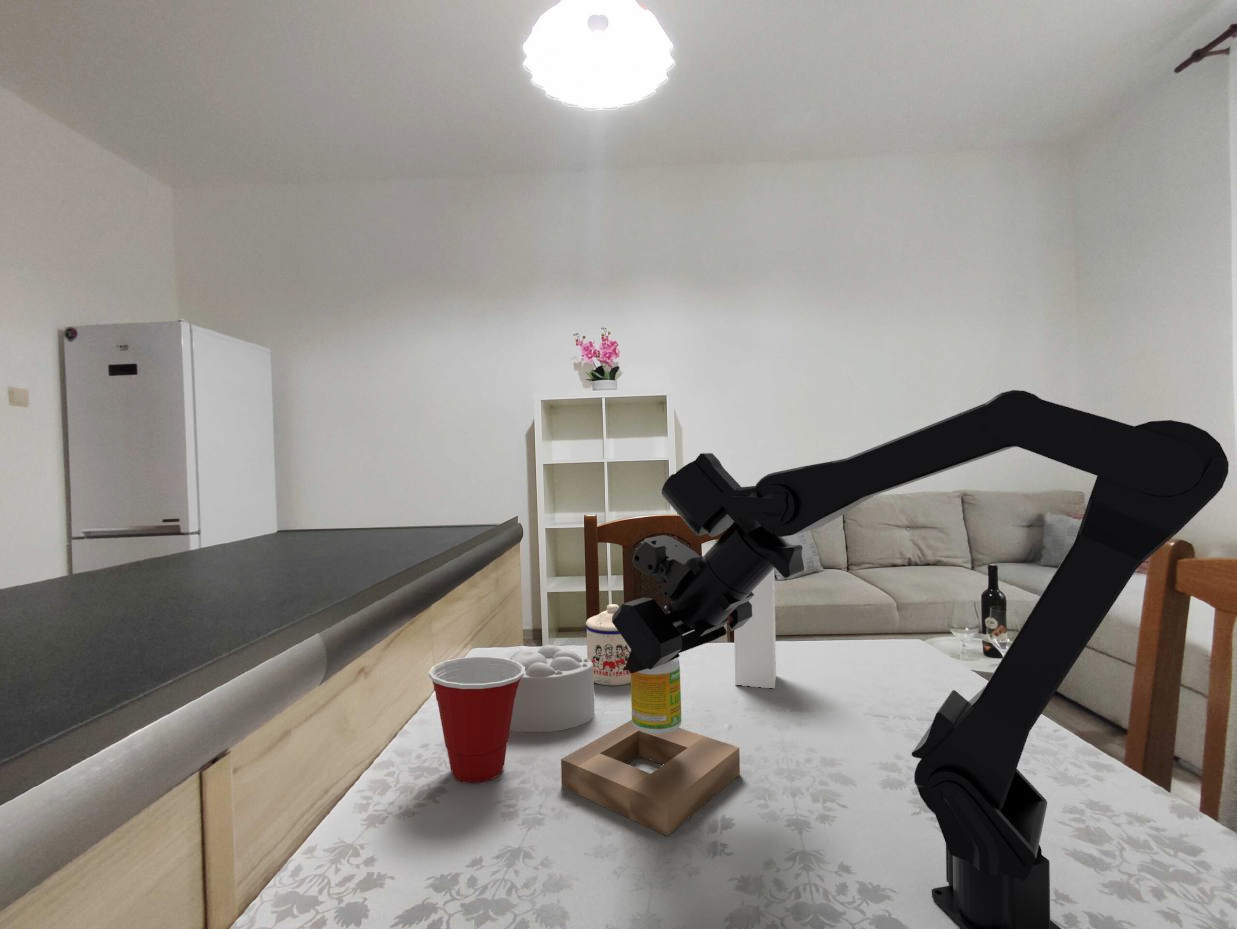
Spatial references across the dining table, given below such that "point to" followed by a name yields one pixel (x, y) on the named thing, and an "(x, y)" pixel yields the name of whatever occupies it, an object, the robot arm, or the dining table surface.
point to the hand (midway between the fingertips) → (645, 661)
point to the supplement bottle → (657, 698)
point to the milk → (758, 640)
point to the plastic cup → (476, 713)
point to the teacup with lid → (607, 649)
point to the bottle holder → (661, 795)
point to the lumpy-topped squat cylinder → (552, 690)
